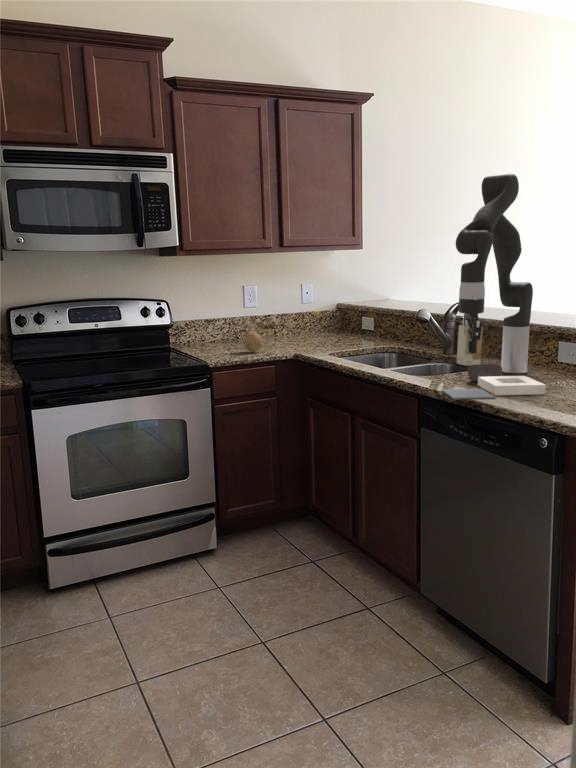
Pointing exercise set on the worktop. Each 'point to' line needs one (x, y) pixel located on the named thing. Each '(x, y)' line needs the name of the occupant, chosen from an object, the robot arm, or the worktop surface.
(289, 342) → the worktop surface
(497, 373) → the perforated stone tool
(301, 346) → the worktop surface
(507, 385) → the holder
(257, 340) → the natural sponge
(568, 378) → the worktop surface
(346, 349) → the worktop surface
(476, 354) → the skincare box
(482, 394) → the mat
